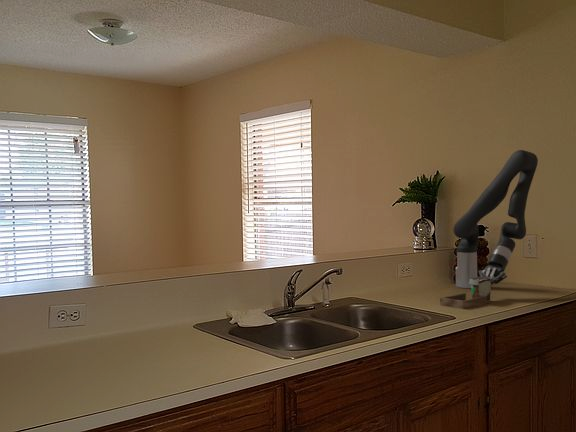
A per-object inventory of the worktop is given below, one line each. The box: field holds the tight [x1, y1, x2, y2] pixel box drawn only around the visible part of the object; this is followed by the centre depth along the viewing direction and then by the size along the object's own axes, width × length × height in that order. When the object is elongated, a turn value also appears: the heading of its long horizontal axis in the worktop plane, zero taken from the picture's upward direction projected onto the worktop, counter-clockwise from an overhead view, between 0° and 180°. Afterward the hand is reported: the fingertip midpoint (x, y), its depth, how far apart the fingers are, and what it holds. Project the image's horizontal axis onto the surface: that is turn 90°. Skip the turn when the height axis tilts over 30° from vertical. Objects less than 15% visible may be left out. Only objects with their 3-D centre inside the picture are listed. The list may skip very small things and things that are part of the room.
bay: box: [439, 292, 488, 310], centre depth 220 cm, size 11×16×3 cm
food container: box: [469, 276, 492, 303], centre depth 225 cm, size 12×6×10 cm, turn 134°
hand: (484, 289), depth 227 cm, fingers closed
